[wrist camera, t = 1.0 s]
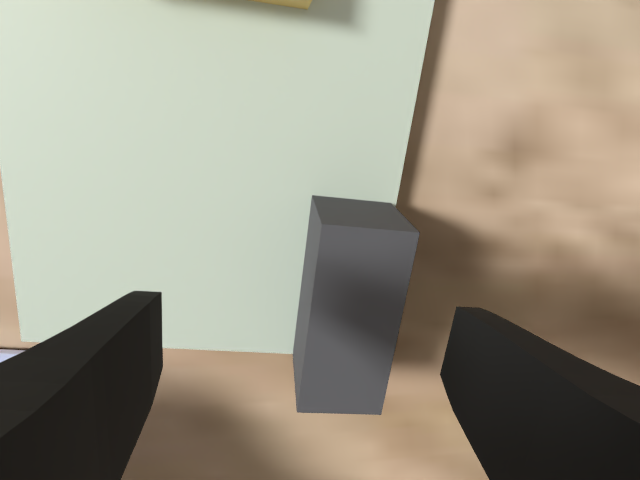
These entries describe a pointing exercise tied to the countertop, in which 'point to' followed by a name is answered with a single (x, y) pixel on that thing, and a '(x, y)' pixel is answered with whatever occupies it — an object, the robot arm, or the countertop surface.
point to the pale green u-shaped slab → (194, 151)
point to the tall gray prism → (350, 304)
